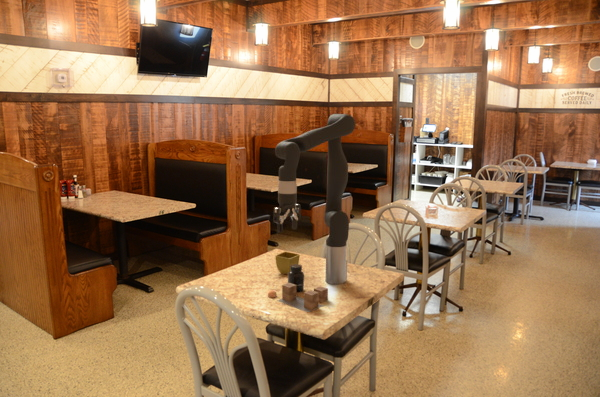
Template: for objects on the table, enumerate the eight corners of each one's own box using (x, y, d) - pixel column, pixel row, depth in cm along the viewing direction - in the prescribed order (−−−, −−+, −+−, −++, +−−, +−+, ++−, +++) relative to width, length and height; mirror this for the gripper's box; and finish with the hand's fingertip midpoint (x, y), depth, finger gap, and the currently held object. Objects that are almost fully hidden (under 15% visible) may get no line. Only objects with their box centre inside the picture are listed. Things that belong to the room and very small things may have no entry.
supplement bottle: (298, 296, 203) (298, 269, 201) (284, 293, 206) (284, 266, 204) (306, 291, 208) (307, 264, 206) (293, 288, 212) (293, 262, 210)
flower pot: (300, 272, 234) (300, 254, 233) (290, 277, 227) (290, 258, 225) (285, 268, 239) (285, 251, 237) (274, 273, 232) (274, 255, 230)
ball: (272, 296, 203) (272, 288, 202) (278, 298, 200) (278, 290, 199) (265, 298, 200) (265, 290, 199) (271, 301, 198) (271, 292, 197)
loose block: (320, 300, 199) (320, 286, 198) (327, 302, 196) (327, 288, 195) (313, 302, 196) (313, 288, 195) (321, 305, 194) (321, 291, 193)
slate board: (292, 297, 202) (292, 294, 201) (323, 308, 190) (323, 305, 190) (277, 303, 195) (277, 300, 195) (308, 315, 184) (308, 312, 183)
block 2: (310, 304, 191) (311, 290, 190) (318, 307, 188) (318, 292, 187) (303, 307, 188) (304, 292, 187) (311, 310, 186) (311, 295, 185)
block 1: (289, 296, 199) (289, 282, 198) (296, 299, 197) (296, 285, 196) (282, 299, 196) (282, 285, 195) (289, 301, 194) (289, 287, 193)
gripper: (282, 194, 188) (282, 235, 190) (305, 190, 198) (305, 229, 201) (268, 192, 193) (268, 232, 195) (292, 189, 203) (292, 227, 206)
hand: (287, 231), depth 198 cm, fingers open, 8 cm apart
